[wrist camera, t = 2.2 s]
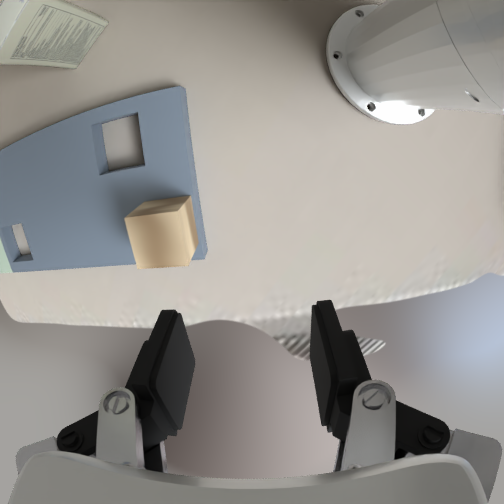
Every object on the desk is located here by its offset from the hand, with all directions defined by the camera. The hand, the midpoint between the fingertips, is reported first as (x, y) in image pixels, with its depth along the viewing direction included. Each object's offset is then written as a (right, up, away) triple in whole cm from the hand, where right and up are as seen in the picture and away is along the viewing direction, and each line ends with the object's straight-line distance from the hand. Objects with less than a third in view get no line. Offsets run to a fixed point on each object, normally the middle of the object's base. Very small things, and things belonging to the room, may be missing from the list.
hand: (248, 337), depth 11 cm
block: (-7, +6, +14) cm, 17 cm away
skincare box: (-18, +25, +8) cm, 32 cm away
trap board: (-22, +9, +15) cm, 28 cm away
